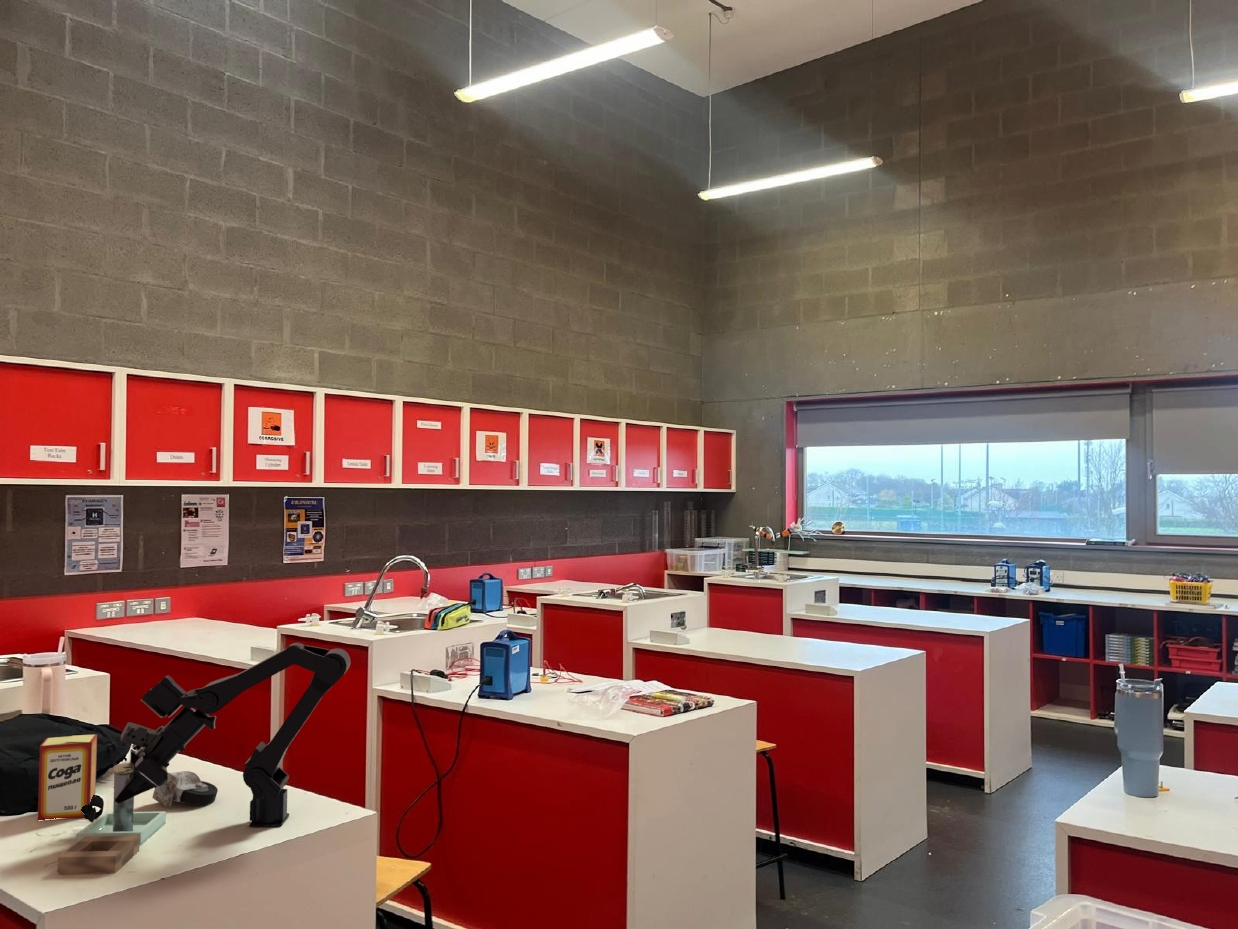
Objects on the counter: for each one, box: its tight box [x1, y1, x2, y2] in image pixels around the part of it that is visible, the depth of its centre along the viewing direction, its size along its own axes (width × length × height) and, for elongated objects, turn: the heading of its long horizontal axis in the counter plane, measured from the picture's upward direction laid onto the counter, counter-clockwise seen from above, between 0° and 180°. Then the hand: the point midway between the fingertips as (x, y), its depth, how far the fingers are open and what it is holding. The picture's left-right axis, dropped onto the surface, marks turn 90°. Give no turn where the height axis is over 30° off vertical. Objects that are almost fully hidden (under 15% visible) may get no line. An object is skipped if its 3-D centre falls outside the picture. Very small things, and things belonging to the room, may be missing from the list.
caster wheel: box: [152, 770, 219, 809], centre depth 205 cm, size 7×11×10 cm
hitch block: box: [56, 836, 140, 875], centre depth 172 cm, size 10×10×3 cm
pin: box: [112, 762, 135, 832], centre depth 185 cm, size 4×4×13 cm
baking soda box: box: [37, 734, 98, 821], centre depth 197 cm, size 10×6×16 cm
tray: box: [75, 810, 167, 846], centre depth 185 cm, size 12×12×2 cm
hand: (115, 795), depth 185 cm, fingers open, 9 cm apart
